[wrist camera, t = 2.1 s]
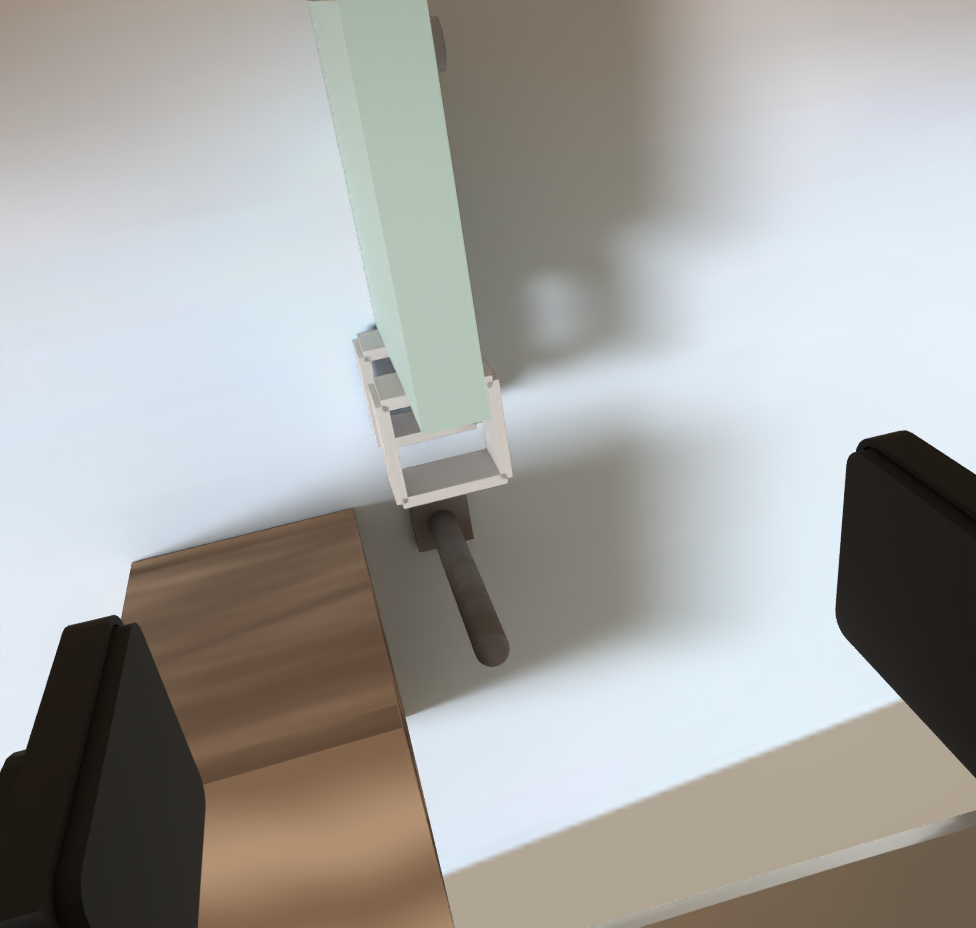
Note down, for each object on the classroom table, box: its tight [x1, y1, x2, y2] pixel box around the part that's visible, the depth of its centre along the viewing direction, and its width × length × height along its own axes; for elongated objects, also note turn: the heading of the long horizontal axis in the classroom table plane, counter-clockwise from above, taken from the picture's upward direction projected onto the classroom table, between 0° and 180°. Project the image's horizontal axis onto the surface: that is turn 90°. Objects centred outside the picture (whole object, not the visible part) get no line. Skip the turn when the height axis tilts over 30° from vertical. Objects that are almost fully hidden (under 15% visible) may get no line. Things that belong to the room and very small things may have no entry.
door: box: [307, 0, 513, 509], centre depth 28 cm, size 15×4×10 cm, turn 8°
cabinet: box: [121, 494, 509, 928], centre depth 34 cm, size 12×14×13 cm
